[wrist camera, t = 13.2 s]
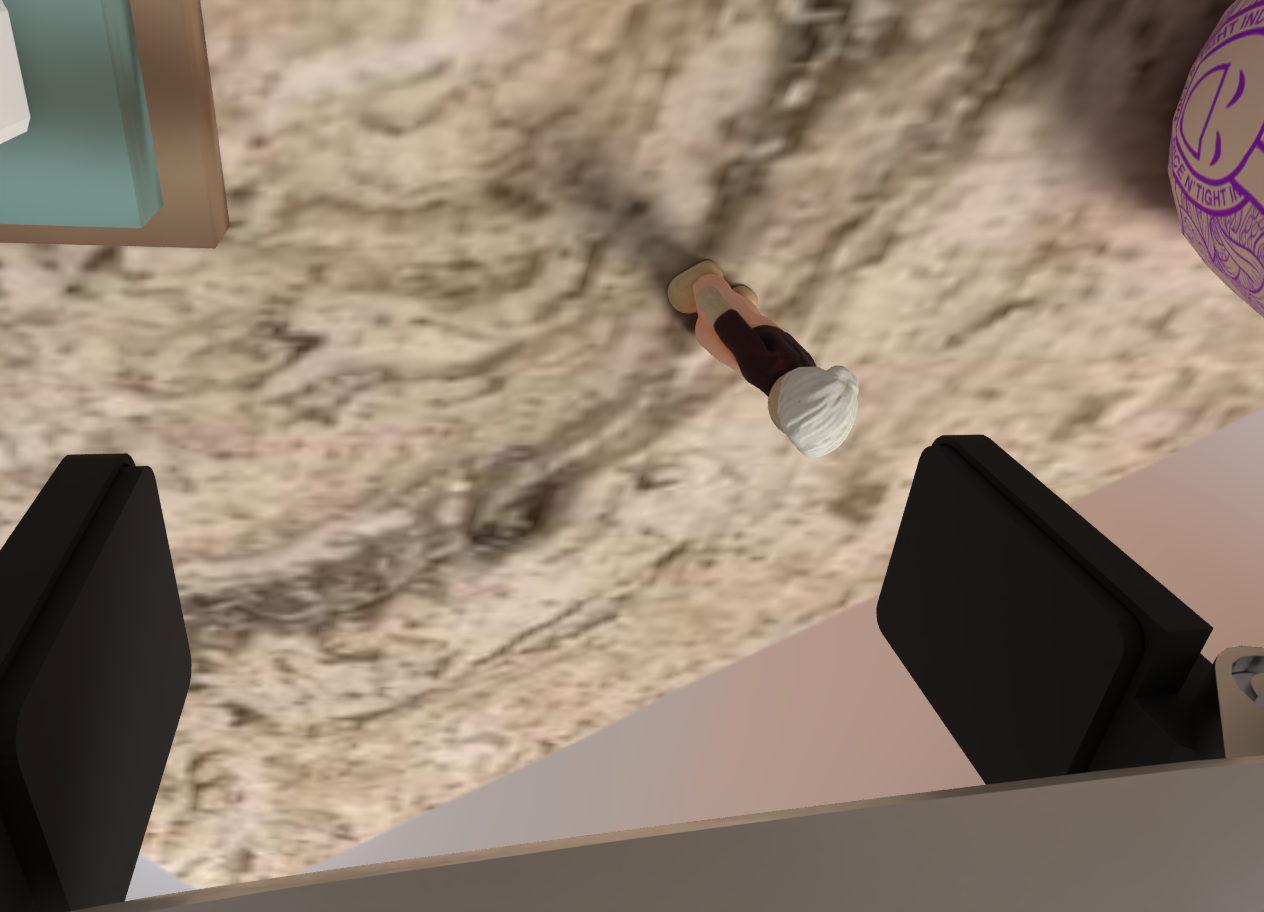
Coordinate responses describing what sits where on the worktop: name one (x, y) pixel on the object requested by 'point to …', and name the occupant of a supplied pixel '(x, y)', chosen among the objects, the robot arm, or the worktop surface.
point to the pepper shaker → (11, 84)
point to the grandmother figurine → (768, 360)
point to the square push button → (113, 127)
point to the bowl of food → (1225, 152)
